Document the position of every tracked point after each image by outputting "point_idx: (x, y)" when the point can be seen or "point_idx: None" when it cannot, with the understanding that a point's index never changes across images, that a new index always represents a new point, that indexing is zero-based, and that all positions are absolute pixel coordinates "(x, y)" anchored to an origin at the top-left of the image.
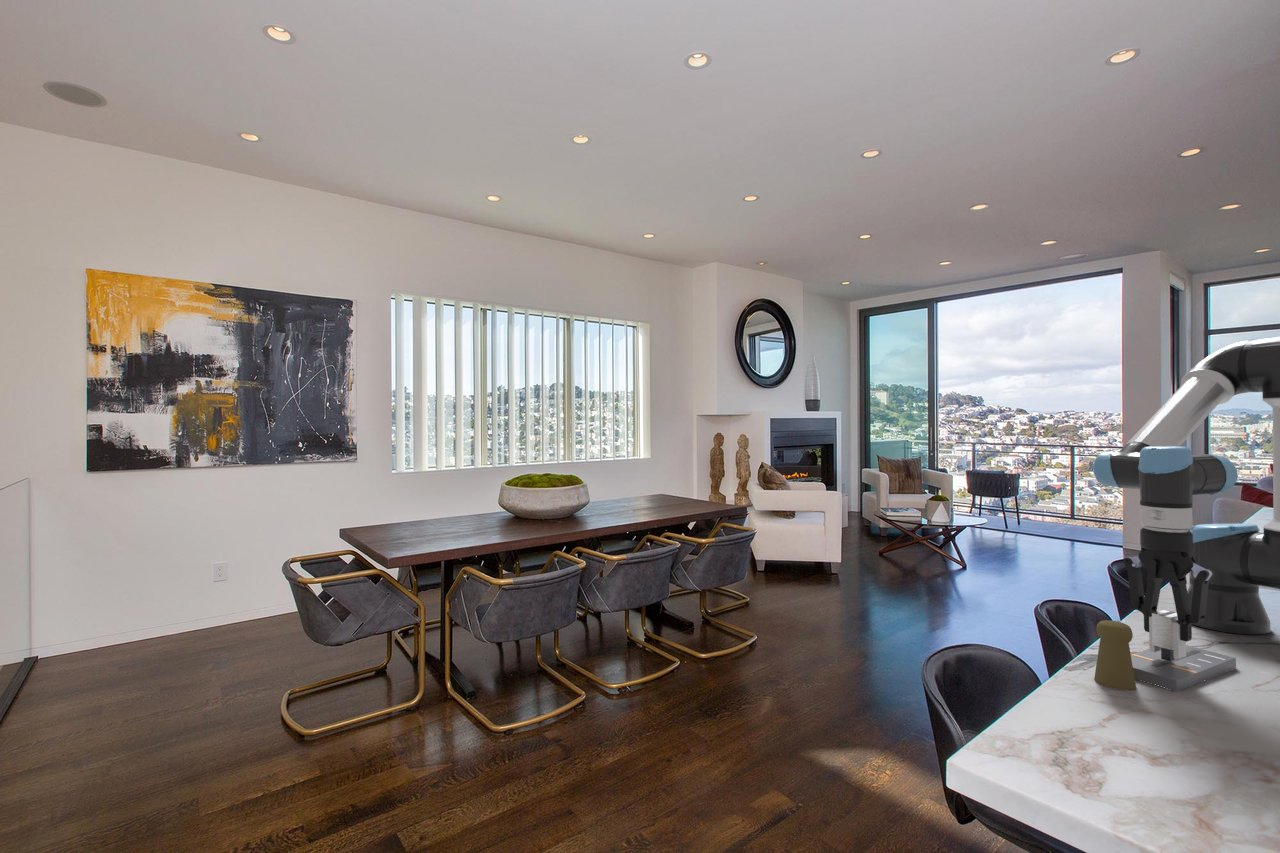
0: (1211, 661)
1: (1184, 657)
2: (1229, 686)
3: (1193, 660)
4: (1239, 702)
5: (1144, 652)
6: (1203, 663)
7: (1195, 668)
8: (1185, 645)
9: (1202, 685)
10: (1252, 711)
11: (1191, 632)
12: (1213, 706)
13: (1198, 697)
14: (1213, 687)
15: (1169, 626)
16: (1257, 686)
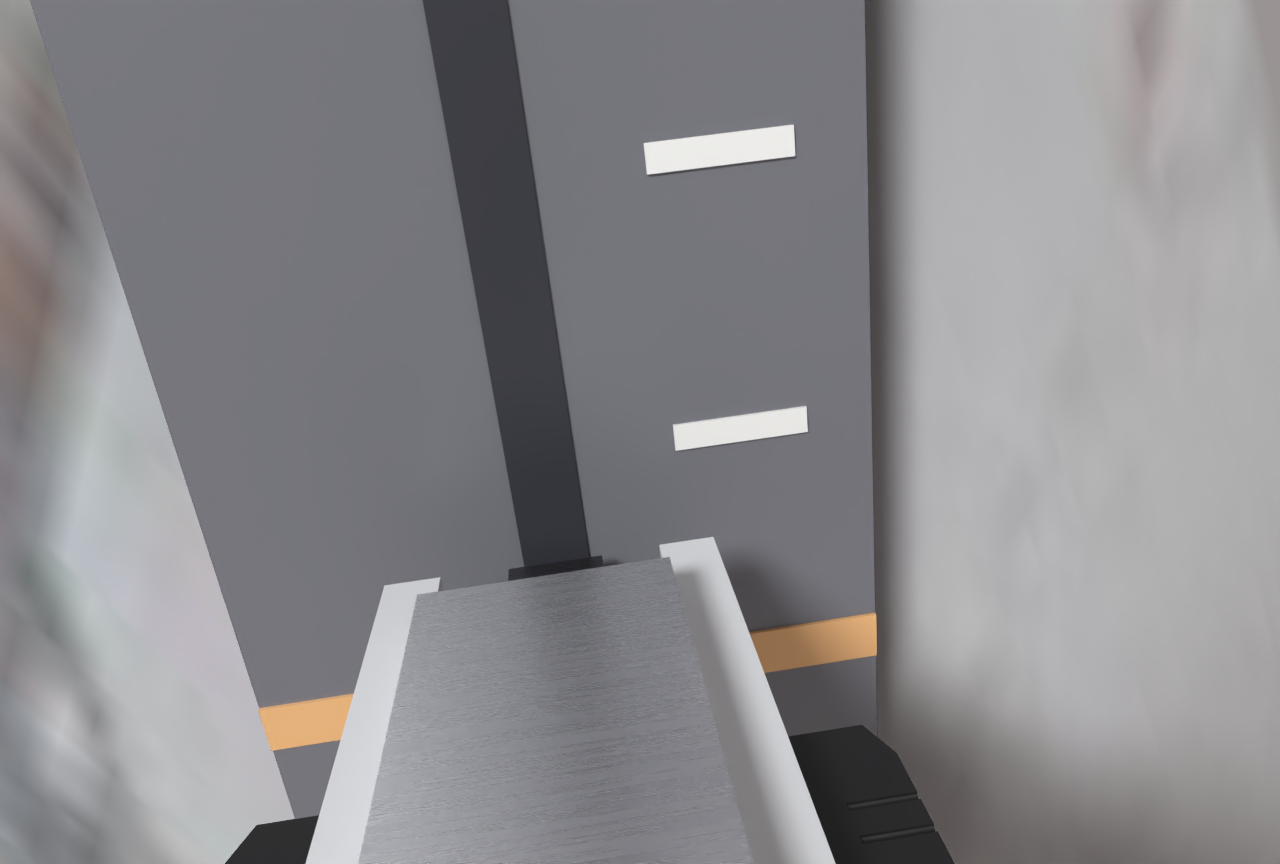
0: (771, 79)
1: (546, 270)
2: (1007, 348)
3: (653, 270)
4: (1171, 632)
5: (248, 543)
6: (761, 261)
7: (809, 524)
8: (742, 625)
9: (875, 550)
10: (1269, 706)
11: (933, 831)
12: (1089, 850)
13: (971, 803)
14: (943, 509)
15: None
16: (1157, 71)
